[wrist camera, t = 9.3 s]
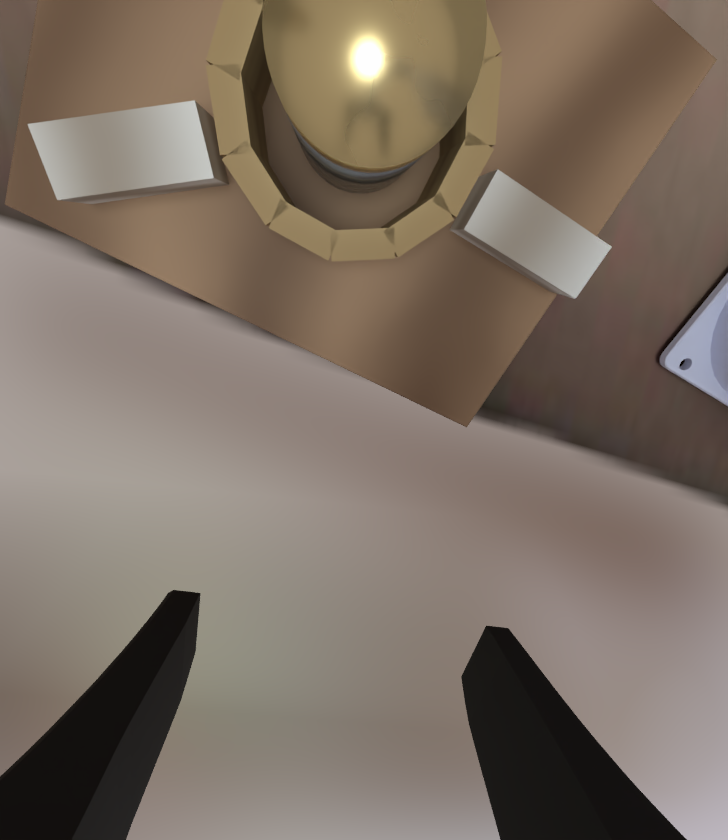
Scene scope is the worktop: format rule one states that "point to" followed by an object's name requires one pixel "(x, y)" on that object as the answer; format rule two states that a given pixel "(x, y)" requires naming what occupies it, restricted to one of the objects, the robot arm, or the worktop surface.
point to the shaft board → (339, 210)
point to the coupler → (372, 80)
